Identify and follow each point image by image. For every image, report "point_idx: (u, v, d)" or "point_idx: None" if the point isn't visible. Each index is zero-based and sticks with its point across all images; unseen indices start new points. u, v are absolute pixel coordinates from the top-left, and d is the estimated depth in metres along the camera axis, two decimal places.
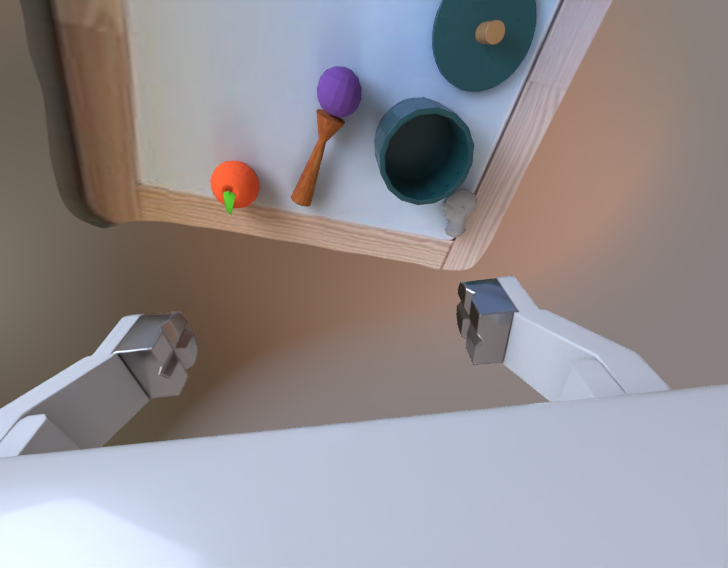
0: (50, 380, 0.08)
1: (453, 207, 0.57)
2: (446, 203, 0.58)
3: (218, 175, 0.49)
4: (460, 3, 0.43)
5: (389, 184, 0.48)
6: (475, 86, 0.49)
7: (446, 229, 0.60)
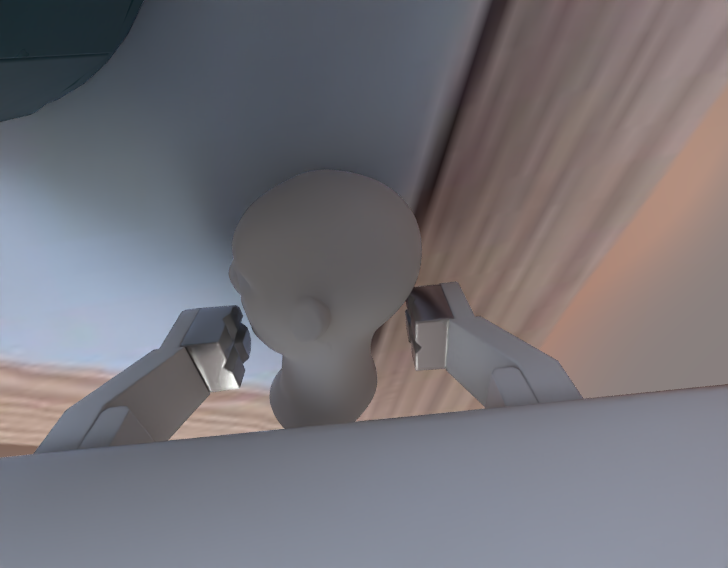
0: (123, 373, 0.08)
1: (255, 291, 0.08)
2: None
3: None
4: None
5: None
6: None
7: (273, 388, 0.11)
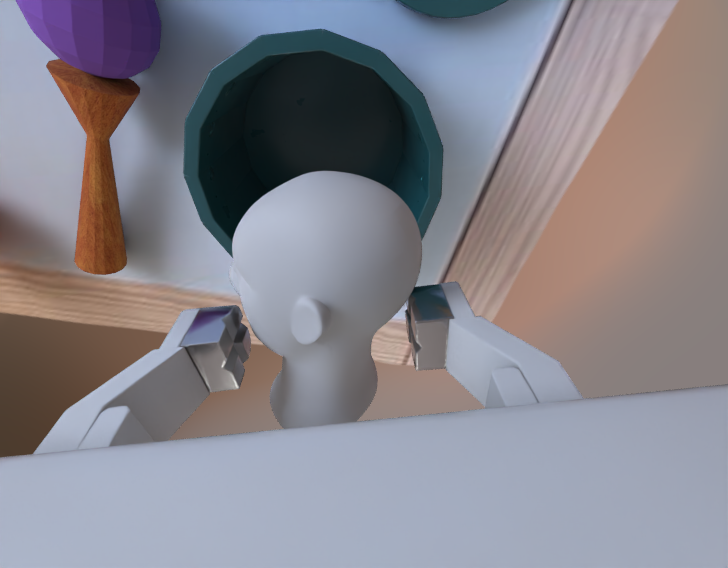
0: (123, 373, 0.08)
1: (256, 293, 0.08)
2: None
3: None
4: None
5: (231, 247, 0.19)
6: (453, 3, 0.20)
7: (274, 389, 0.11)
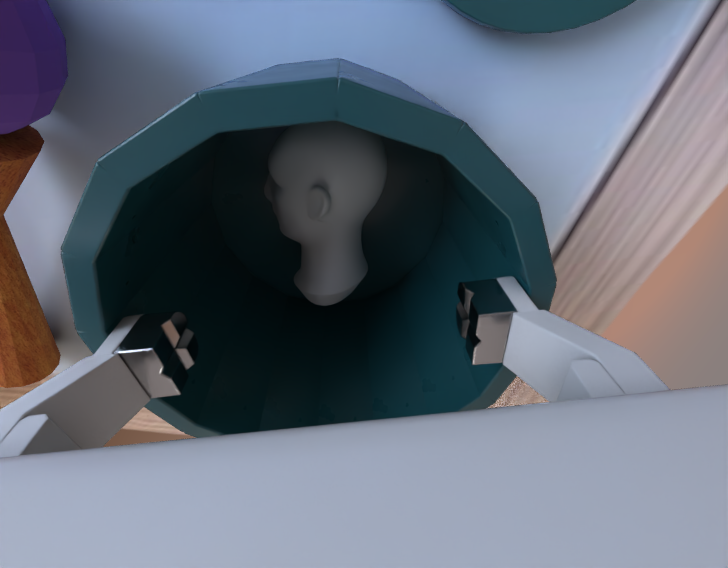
0: (51, 380, 0.08)
1: (284, 188, 0.13)
2: (270, 176, 0.14)
3: None
4: None
5: (179, 420, 0.11)
6: (541, 11, 0.12)
7: (296, 275, 0.16)
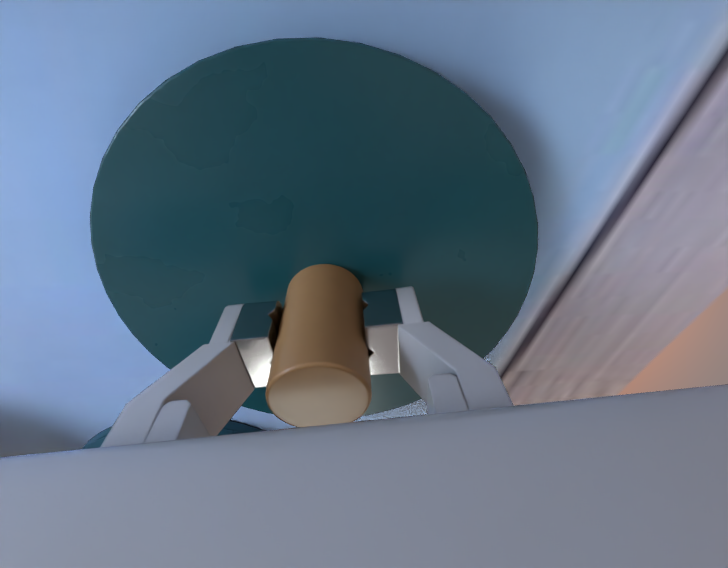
0: (177, 367, 0.08)
1: None
2: None
3: None
4: (181, 209, 0.09)
5: None
6: None
7: None
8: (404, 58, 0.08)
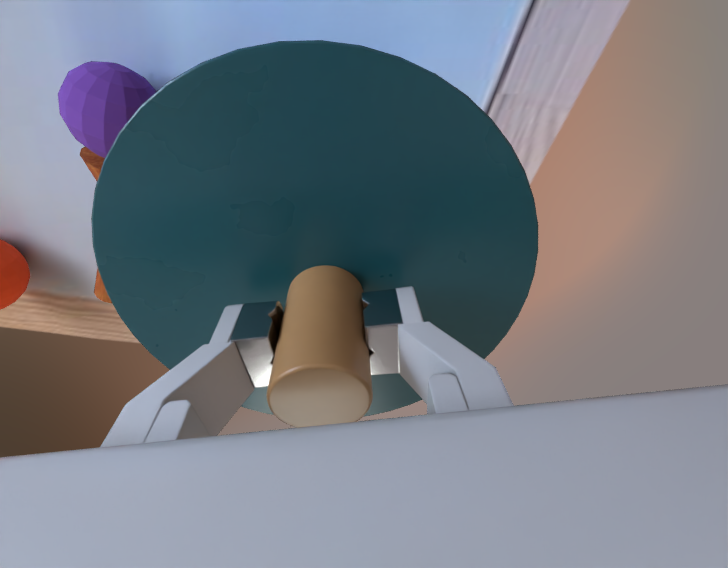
0: (177, 367, 0.08)
1: None
2: None
3: None
4: (182, 211, 0.09)
5: None
6: None
7: None
8: (405, 61, 0.08)
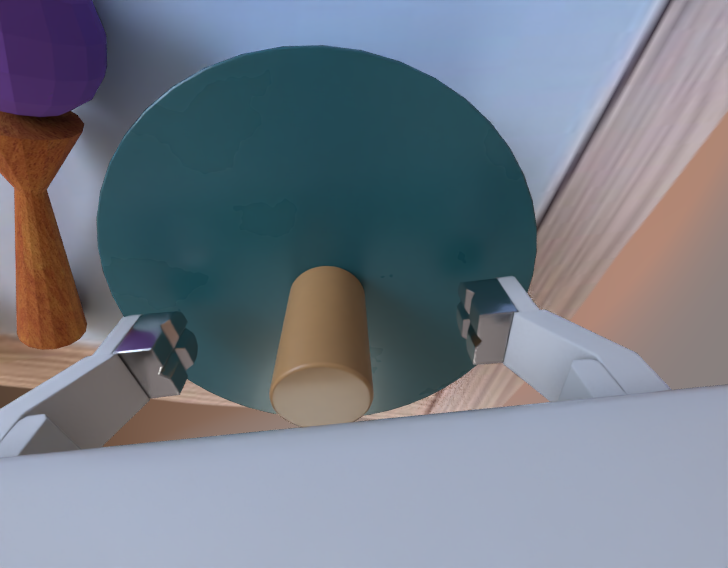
0: (50, 380, 0.08)
1: None
2: None
3: None
4: (185, 213, 0.09)
5: None
6: None
7: None
8: (405, 65, 0.08)
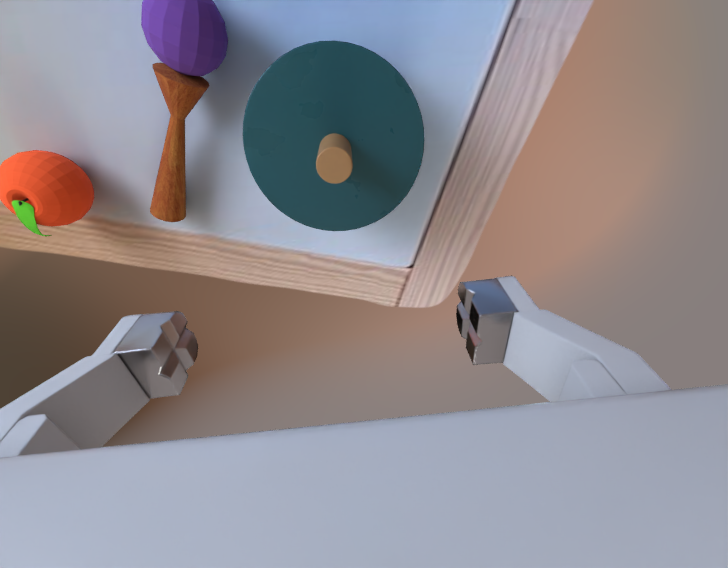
0: (50, 380, 0.08)
1: None
2: None
3: None
4: (280, 106, 0.24)
5: None
6: (338, 224, 0.29)
7: None
8: (363, 47, 0.22)
